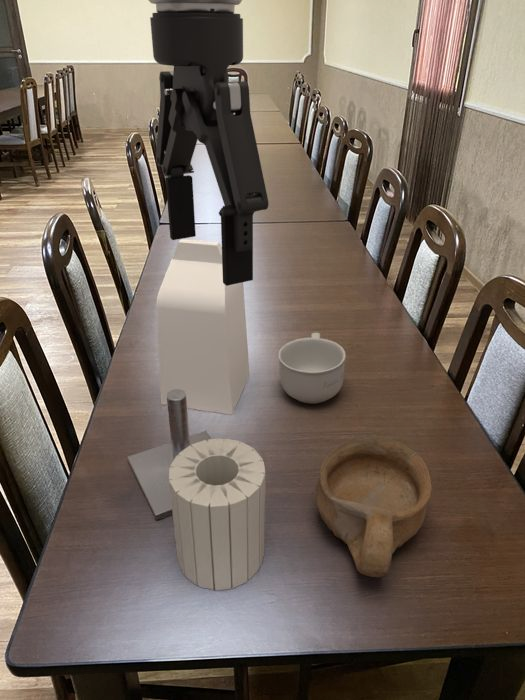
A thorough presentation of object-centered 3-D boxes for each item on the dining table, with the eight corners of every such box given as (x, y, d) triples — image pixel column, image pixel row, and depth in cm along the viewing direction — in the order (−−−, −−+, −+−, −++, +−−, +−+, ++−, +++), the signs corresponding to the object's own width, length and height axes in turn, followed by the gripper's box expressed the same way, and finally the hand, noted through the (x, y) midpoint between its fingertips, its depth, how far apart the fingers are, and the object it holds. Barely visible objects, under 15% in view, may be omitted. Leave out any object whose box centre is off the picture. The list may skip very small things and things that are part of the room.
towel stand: (156, 520, 67) (145, 437, 60) (128, 461, 76) (115, 383, 69) (242, 487, 72) (241, 406, 65) (206, 435, 81) (201, 359, 74)
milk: (161, 404, 87) (144, 252, 74) (185, 366, 97) (174, 226, 84) (232, 414, 85) (227, 260, 72) (249, 375, 95) (248, 232, 81)
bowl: (470, 584, 58) (463, 525, 53) (343, 614, 59) (324, 560, 54) (416, 467, 73) (407, 412, 68) (316, 493, 74) (300, 441, 69)
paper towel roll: (198, 605, 57) (191, 520, 50) (165, 537, 65) (155, 456, 58) (279, 566, 61) (282, 483, 55) (240, 507, 69) (238, 428, 62)
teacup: (332, 418, 85) (336, 376, 80) (268, 403, 88) (268, 362, 84) (352, 373, 96) (356, 334, 92) (294, 361, 99) (296, 323, 95)
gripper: (321, 7, 36) (305, 296, 47) (182, 12, 54) (194, 218, 65) (219, 4, 33) (227, 315, 44) (109, 11, 51) (134, 227, 62)
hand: (207, 257), depth 54 cm, fingers open, 13 cm apart
